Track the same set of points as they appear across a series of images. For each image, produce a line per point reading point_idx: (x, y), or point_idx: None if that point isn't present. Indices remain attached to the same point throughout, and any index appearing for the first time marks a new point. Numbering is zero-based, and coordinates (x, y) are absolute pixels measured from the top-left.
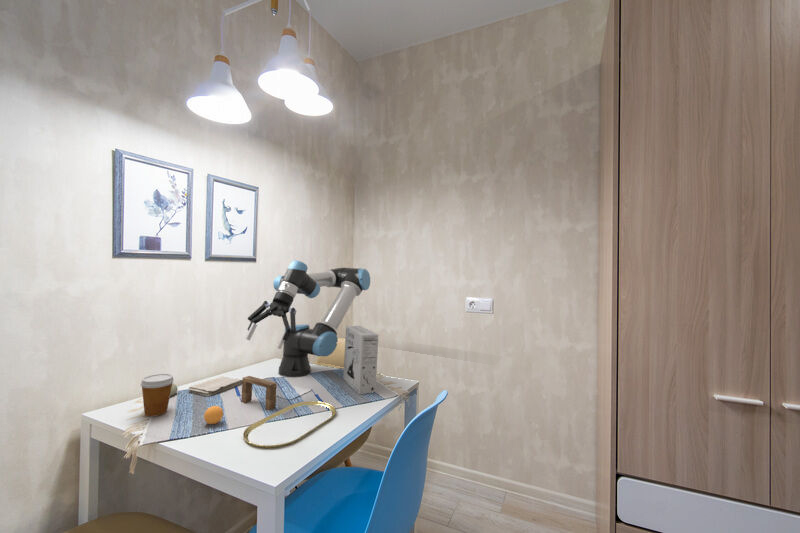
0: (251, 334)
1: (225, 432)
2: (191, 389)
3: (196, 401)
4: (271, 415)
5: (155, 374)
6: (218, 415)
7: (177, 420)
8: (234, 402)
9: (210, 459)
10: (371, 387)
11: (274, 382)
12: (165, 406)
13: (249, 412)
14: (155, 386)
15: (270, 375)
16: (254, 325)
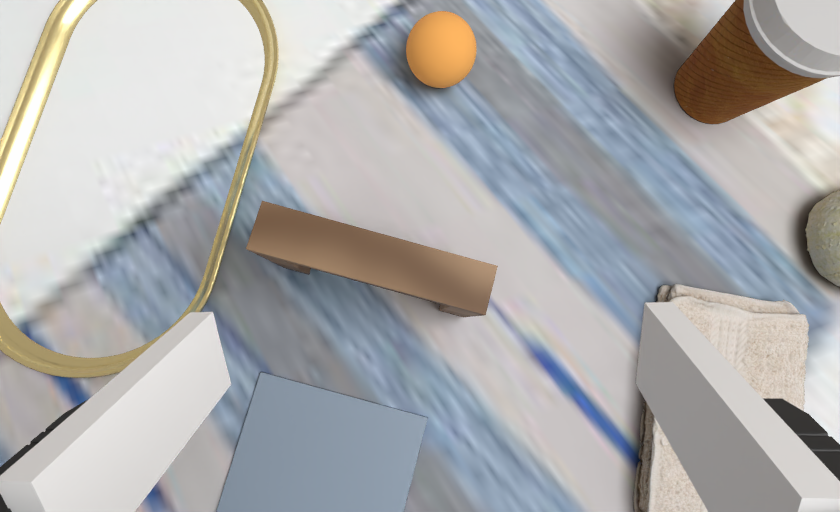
0: (669, 411)
1: (348, 23)
2: (777, 304)
3: (660, 227)
4: (244, 166)
5: None
6: (409, 34)
7: (579, 57)
8: (499, 268)
9: None
10: None
11: (264, 253)
12: (688, 77)
13: (368, 193)
14: None
15: None
16: (760, 502)
